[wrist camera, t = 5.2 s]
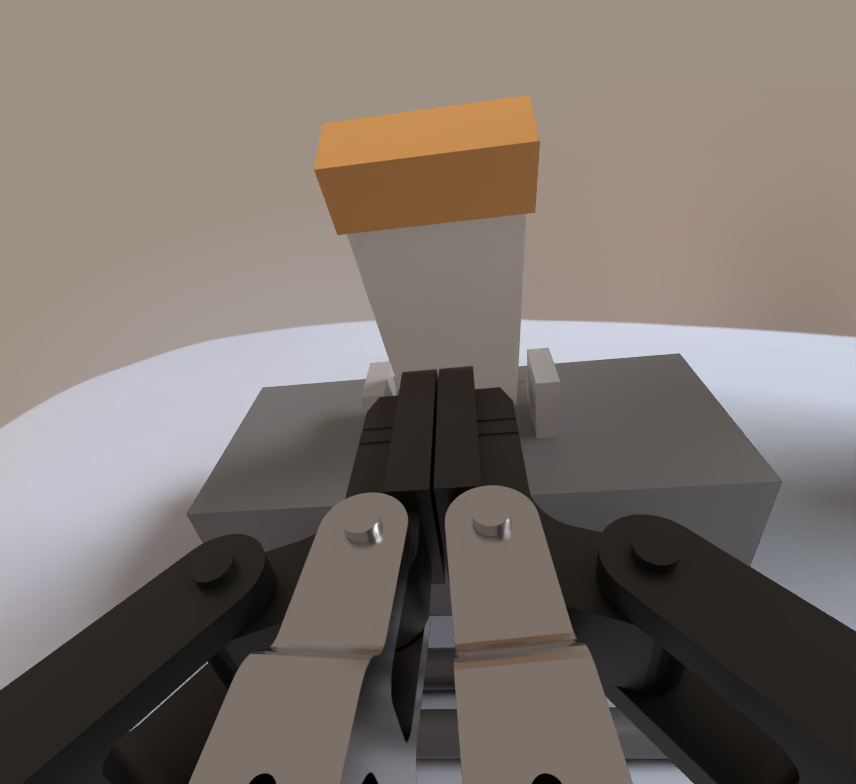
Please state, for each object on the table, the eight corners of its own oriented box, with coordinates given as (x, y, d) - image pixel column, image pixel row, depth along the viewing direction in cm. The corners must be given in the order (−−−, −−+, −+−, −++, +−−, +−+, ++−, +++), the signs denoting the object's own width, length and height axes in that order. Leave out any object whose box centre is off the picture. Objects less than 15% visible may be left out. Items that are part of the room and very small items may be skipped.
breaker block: (819, 766, 18) (966, 575, 12) (192, 765, 20) (45, 607, 14) (657, 458, 31) (685, 299, 25) (299, 480, 34) (248, 340, 28)
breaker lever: (526, 419, 23) (553, 139, 11) (400, 428, 23) (301, 171, 12) (522, 383, 24) (541, 92, 12) (401, 393, 24) (311, 125, 13)
